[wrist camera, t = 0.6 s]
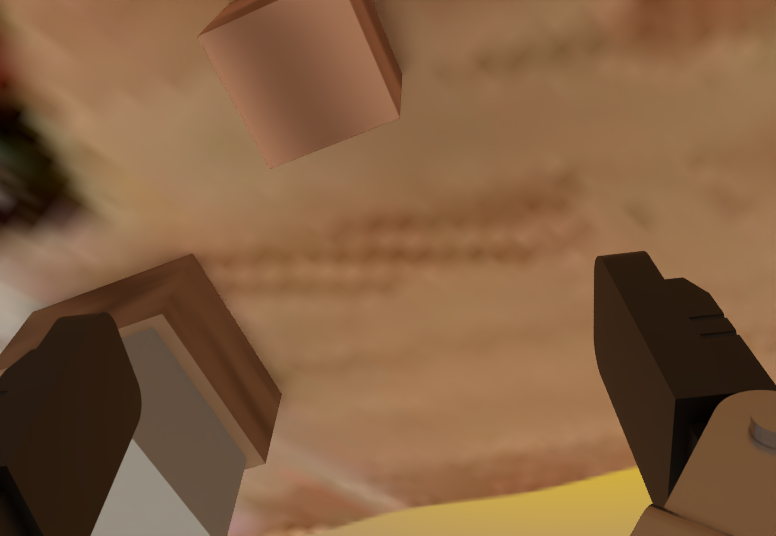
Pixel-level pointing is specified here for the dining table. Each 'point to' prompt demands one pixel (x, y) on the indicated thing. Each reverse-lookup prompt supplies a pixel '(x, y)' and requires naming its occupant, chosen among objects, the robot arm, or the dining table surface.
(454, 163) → the dining table surface
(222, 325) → the tower bottom
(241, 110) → the terracotta cube
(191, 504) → the tower top
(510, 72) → the dining table surface
